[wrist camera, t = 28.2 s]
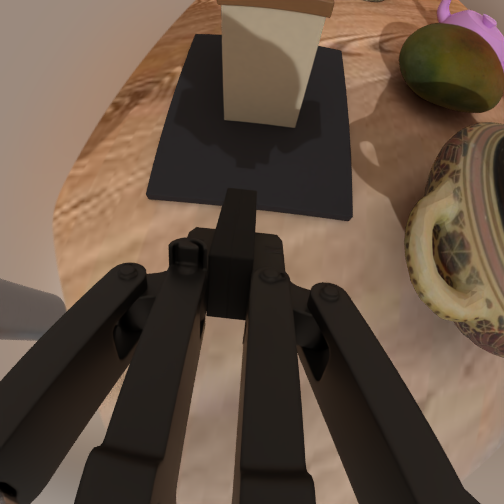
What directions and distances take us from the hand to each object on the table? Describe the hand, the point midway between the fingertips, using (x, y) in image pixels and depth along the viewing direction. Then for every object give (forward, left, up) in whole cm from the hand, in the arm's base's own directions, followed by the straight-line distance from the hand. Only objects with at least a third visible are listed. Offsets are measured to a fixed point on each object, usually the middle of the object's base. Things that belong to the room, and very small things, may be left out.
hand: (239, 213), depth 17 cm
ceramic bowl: (+20, +1, -8) cm, 22 cm away
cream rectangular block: (+1, +14, -6) cm, 15 cm away
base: (0, +13, -7) cm, 15 cm away
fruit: (+20, +21, -8) cm, 30 cm away
